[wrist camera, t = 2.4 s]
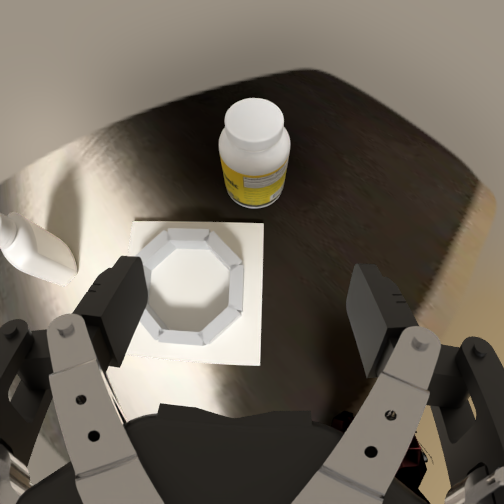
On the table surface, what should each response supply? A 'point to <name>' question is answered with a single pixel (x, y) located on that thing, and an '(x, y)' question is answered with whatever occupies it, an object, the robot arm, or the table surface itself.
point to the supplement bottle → (254, 152)
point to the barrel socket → (200, 291)
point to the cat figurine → (411, 464)
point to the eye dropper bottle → (36, 250)
